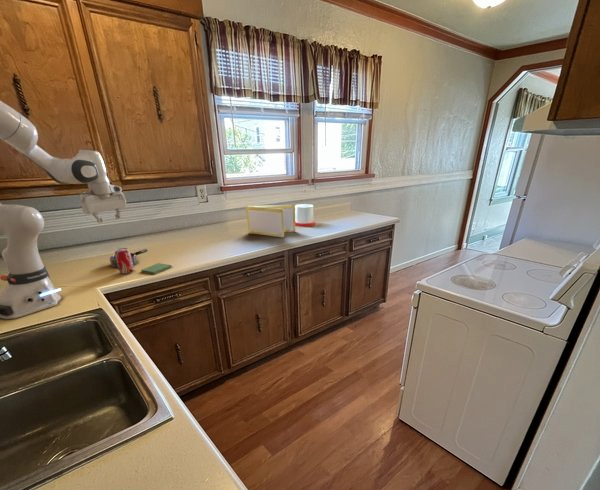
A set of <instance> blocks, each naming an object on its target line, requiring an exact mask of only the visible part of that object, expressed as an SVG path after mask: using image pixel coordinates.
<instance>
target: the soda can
mask: <svg viewBox="0 0 600 490" xmlns="http://www.w3.org/2000/svg"><path fill="white" fill-rule="evenodd" d="M114 251H115V252H114V255H115V257H116V261H117V264H118V268H117V269H118V270H119V273H121V274H123V275H129V274H132V273H133V272H135V265H133V261H132V257H131V254H130V253H131V252H130V250H129V249H128V247H119V248H116V249H114Z"/></svg>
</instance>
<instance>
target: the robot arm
mask: <svg viewBox="0 0 600 490" xmlns="http://www.w3.org/2000/svg"><path fill="white" fill-rule="evenodd" d="M0 140H1V141H3V142H5V143H6V144H8V145H9V146H11V147H12V148H13V149H15V150H16V151H17V152H18V153H19V154H21V155H22V156H23V157H25V158H27V160H29V161H31V162H32V163H34V164H35V165H36V166H38V167H39V168H40V169H42V170H43V171H44V172H45V173H46V174H47V175H48V176H49V177H50V179H51V180H53V181H54V182H55V183H57V184H60V185H69V184H70V185H71V184H73V185H74V184H75V185H85V184H87V188H88V190H85V191H81V192H80V193H79V195H78V197H79V201H80V205H81V210H82V212H83V213H84V214H86V215H92V216H93V217H94V218H95V220H96V223H98V224H100V223H103V218H102V217H99V213H103V212H108V211H112V210H115V211H116V212H115V214H114V218H115V219H117V220H119V219H121V212H122V209H123V208H126V207H127V199H126V197H125V194H124V193H123V192H122V191H123V188H122V187H121V186H119V185H114V184H111V183H110V179H109V177H108V176H107V174H108V173H107V168H106V165H105V161H104V159H103V156H102V154H101V153H100V152H99V151H98V150H96V149H91V148H89V149H88V148H80V149H79V150H78V153H77V154H76V155H75V156H73V157H72V158H59V157H55V156H52V155H51V154H50V153H48V152H47V151H46V150H44V149H43V148H41V147H40V146H39V145H38V144H37V143H38V141H39V133H38V130H37V127H36V126H35V125H34V124H33V123H32V122H31V121H30V120H29V119H28V118H27V117H25V116H24V115H23V114H22V113H20V112H18V111H17V110H16V109H14V108H13V107H11V106H10V105H8V104H6V103H5V102H3V101H2V100H0ZM44 228H45V220H44V216H43V215H42V214H41V212H40V211H39V210H38V209H37V208H35V207H32V206H29V205H22V204H3V203H1V202H0V236H5V238H6V242H7V243H6V244H7V245H6V247H5V248H4V249H3V250H2V252H1V257H2V259H3V261H4V263H5V265H6V268H7V270H8V274H7V275H4V274H1V275H0V280H1V281H4V282H6V281H7V283H8V284H7V285H6V286H5V287H4V288H3V290H2V291H1V292H0V319H3V320H13V319H17V318H20V317H25V316H28V315H30V314H34V313H37V312H40V311H43V310H46V309H49V308H52V307H55V306H57V305H58V303H59V301H61V299H62V296H61V295H60V293H58V292H60V291H62V288H57V289H56V287H54V285H53V283H52V281H51V278H50V275H49V272H48V270H47V268H46V266H44V263H43V261H42V258H41V255H40V251H39V248H38V240H39V239H38V237H39V236H40V234H41V232H42V231H43V230H44Z"/></svg>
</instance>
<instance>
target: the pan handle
mask: <svg viewBox="0 0 600 490" xmlns="http://www.w3.org/2000/svg"><path fill="white" fill-rule="evenodd" d="M148 250H149V249H147V248H145V249H142V250H139V251H136V252H133V253H134V254H136V256H139V255H142V254H144V253H147V252H148Z"/></svg>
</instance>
